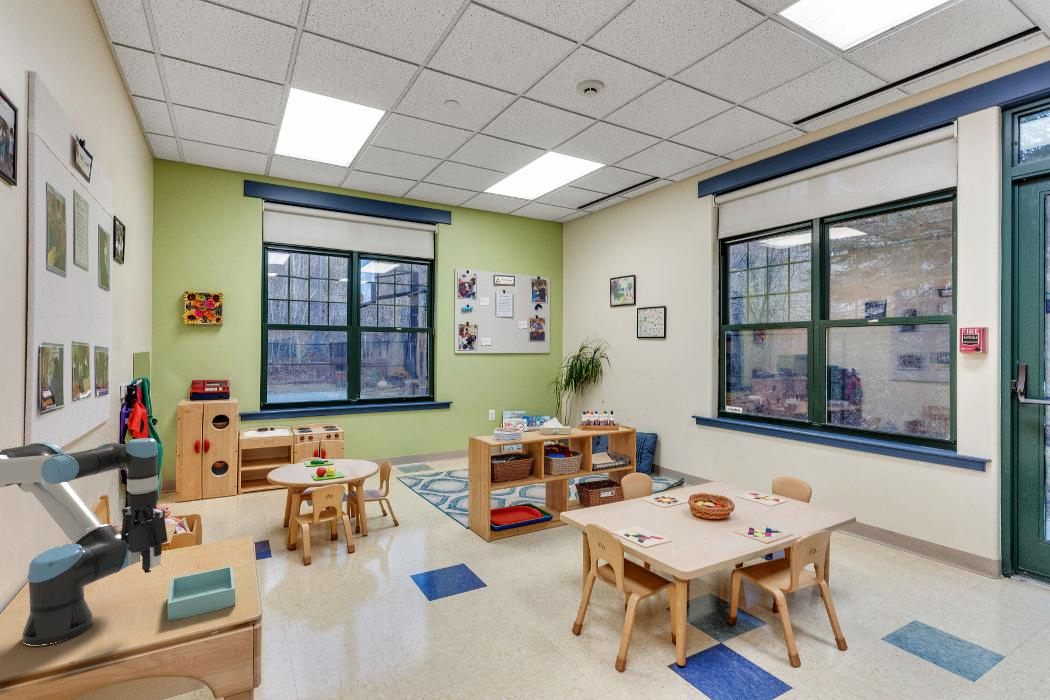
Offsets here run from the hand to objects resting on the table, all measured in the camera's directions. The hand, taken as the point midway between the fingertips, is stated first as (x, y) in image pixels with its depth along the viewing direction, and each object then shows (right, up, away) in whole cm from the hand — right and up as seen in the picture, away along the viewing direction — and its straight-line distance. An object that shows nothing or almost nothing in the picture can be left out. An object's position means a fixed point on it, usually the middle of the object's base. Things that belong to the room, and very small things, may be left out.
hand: (144, 564), depth 159 cm
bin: (+12, -15, +10) cm, 22 cm away
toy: (0, -2, 0) cm, 2 cm away
